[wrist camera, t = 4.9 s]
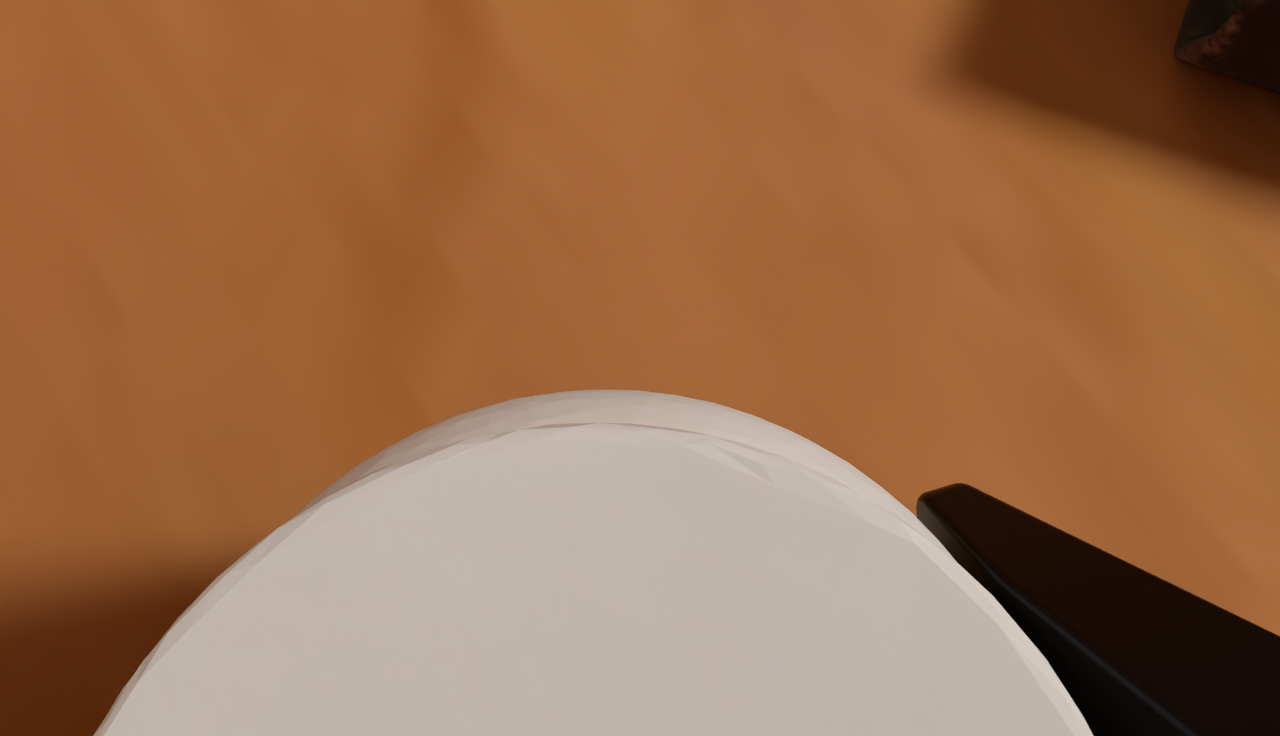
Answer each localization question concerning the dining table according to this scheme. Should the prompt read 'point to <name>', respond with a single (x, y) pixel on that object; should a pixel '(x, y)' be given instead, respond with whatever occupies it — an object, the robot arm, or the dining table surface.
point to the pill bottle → (597, 596)
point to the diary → (1233, 39)
